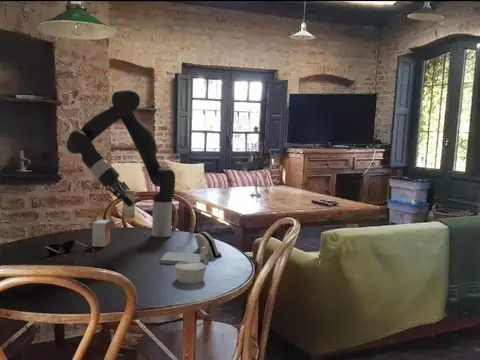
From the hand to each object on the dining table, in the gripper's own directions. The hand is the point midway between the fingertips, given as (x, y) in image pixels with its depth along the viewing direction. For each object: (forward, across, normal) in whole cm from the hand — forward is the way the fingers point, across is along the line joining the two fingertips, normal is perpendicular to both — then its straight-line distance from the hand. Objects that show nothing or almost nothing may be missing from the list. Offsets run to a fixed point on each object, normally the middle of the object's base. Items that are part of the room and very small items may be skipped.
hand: (133, 204), depth 187 cm
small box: (+2, +16, +29) cm, 33 cm away
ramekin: (+36, -23, -4) cm, 43 cm away
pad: (+31, 0, 0) cm, 31 cm away
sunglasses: (0, -5, +32) cm, 32 cm away
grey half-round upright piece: (+36, +15, -4) cm, 39 cm away
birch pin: (+3, 0, +5) cm, 6 cm away
